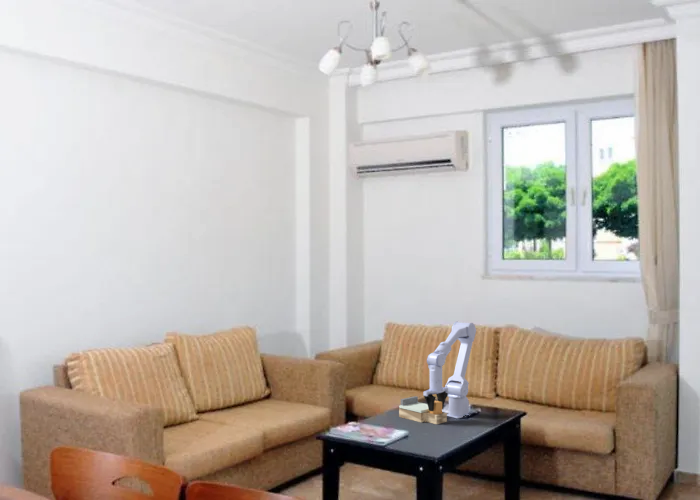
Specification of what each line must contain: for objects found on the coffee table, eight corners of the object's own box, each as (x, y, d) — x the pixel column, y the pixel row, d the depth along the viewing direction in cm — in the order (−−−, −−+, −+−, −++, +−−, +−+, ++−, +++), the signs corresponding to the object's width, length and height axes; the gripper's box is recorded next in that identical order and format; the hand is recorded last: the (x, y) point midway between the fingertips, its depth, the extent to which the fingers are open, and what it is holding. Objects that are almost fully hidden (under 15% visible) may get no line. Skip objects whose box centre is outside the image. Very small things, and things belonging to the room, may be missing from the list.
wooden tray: (416, 412, 349) (416, 404, 349) (450, 420, 333) (450, 412, 333) (399, 416, 341) (399, 408, 341) (432, 425, 325) (432, 416, 325)
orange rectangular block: (435, 415, 335) (435, 400, 335) (442, 417, 332) (442, 401, 332) (429, 417, 332) (429, 401, 332) (436, 418, 329) (436, 403, 329)
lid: (416, 403, 349) (416, 395, 349) (439, 408, 339) (439, 400, 339) (399, 407, 341) (399, 399, 341) (421, 412, 331) (421, 404, 331)
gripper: (431, 383, 324) (431, 413, 324) (453, 379, 334) (453, 408, 334) (419, 380, 329) (419, 411, 329) (441, 376, 339) (441, 406, 339)
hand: (435, 409), depth 332 cm, fingers open, 6 cm apart
